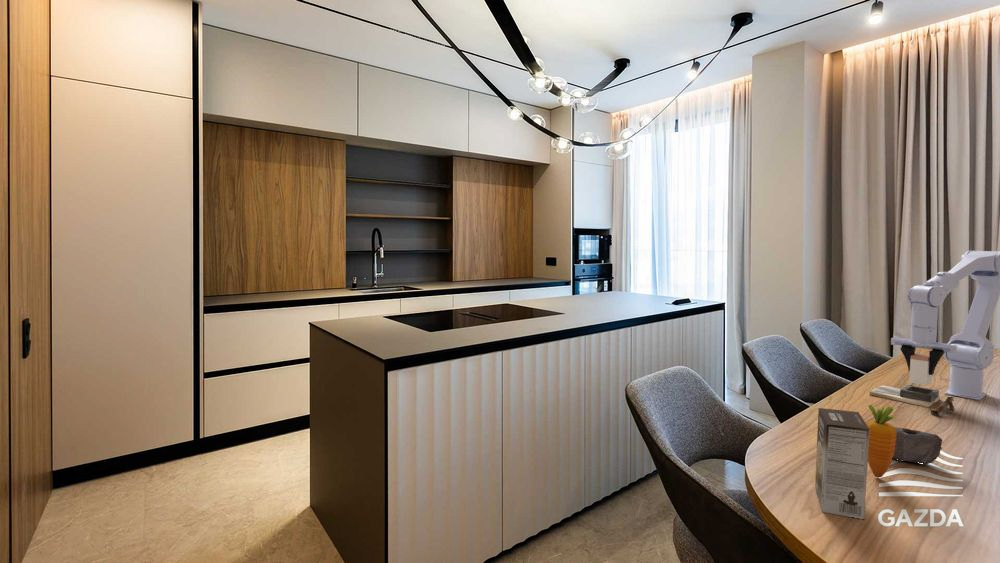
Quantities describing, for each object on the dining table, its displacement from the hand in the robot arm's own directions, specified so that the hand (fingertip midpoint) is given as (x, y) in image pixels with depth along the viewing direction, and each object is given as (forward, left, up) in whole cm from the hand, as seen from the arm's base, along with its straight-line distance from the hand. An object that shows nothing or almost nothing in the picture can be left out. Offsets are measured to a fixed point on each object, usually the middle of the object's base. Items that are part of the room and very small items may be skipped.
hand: (920, 372), depth 144 cm
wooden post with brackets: (+9, +7, -9) cm, 15 cm away
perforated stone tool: (+53, +8, -9) cm, 54 cm away
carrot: (+67, +9, -8) cm, 68 cm away
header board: (0, -4, -8) cm, 9 cm away
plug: (0, 0, -3) cm, 3 cm away
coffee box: (+84, +8, -8) cm, 85 cm away
